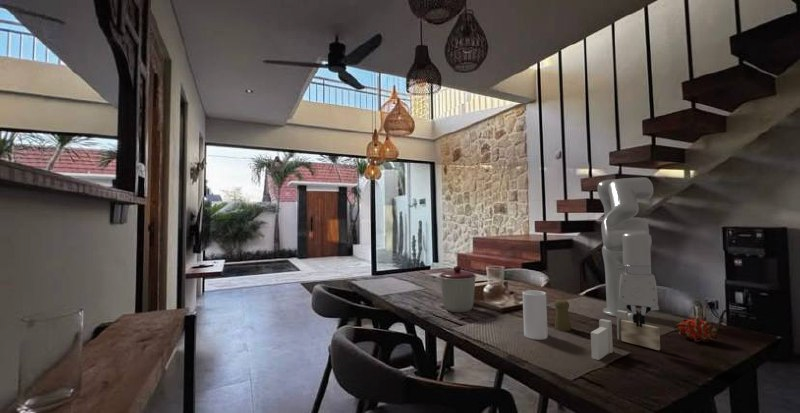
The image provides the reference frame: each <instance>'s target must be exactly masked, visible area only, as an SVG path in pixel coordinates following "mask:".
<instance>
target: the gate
mask: <svg viewBox="0 0 800 413" xmlns="http://www.w3.org/2000/svg"><path fill="white" fill-rule="evenodd" d="M618 331H619V341H622V342H625V343H629V344H632V345H637V346H640V347H645V348H647V349H652V350H656V351H660V350H661V338H660V337H661V336H660V327H658V326H655V325H649V324H642V327H640V326H639V327H636V323H634V321H633V322H631V321H626V320H621V319H618Z"/></svg>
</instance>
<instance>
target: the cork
mask: <svg viewBox="0 0 800 413" xmlns="http://www.w3.org/2000/svg"><path fill="white" fill-rule="evenodd" d="M554 306H555V309H556V310H555V317H554V318H555V320H554V329H555V330H557V331H564V332H567V331H571V330H572V325H571V320H570V315H569V308H570V302H568V301H567V300H565V299H556V300H555V301H554Z"/></svg>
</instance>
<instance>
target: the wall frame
mask: <svg viewBox="0 0 800 413" xmlns="http://www.w3.org/2000/svg"><path fill="white" fill-rule="evenodd" d="M615 317H616V336H617V340H619V331H618V319H621V320H626V321H631V322H634V319H633V317H632V313H628V312H627V311H621V310H617V311H616V316H615ZM612 325H613V323H612V320H610V319H604V318H600V319H599V320H598V328H595V329H594V330H592V331H591V332H590V348H591V359H593V360H596V361H599V360H601V359H603V358H604V357H605V356H607V355H609V354H610V353H611V354H612V353H613V352H614V346H613V344H614V343H613V326H612ZM619 341H620V340H619Z"/></svg>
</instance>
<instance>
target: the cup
mask: <svg viewBox="0 0 800 413" xmlns="http://www.w3.org/2000/svg"><path fill="white" fill-rule="evenodd" d="M547 307H548V306H547V293H546V292H545V291H541V290H533V289H532V290H531V289H528V290H523V291H522V311H523V312H522V313H523V314H522V315H523V316H522V317H523V336H524V337H526V338H528V339H530V340H531V339H532V340H537V341H538V340H546V339H547V338H548V337H549V334H548V333H549V332H548V312H547V311H548V310H547V309H548V308H547Z"/></svg>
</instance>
